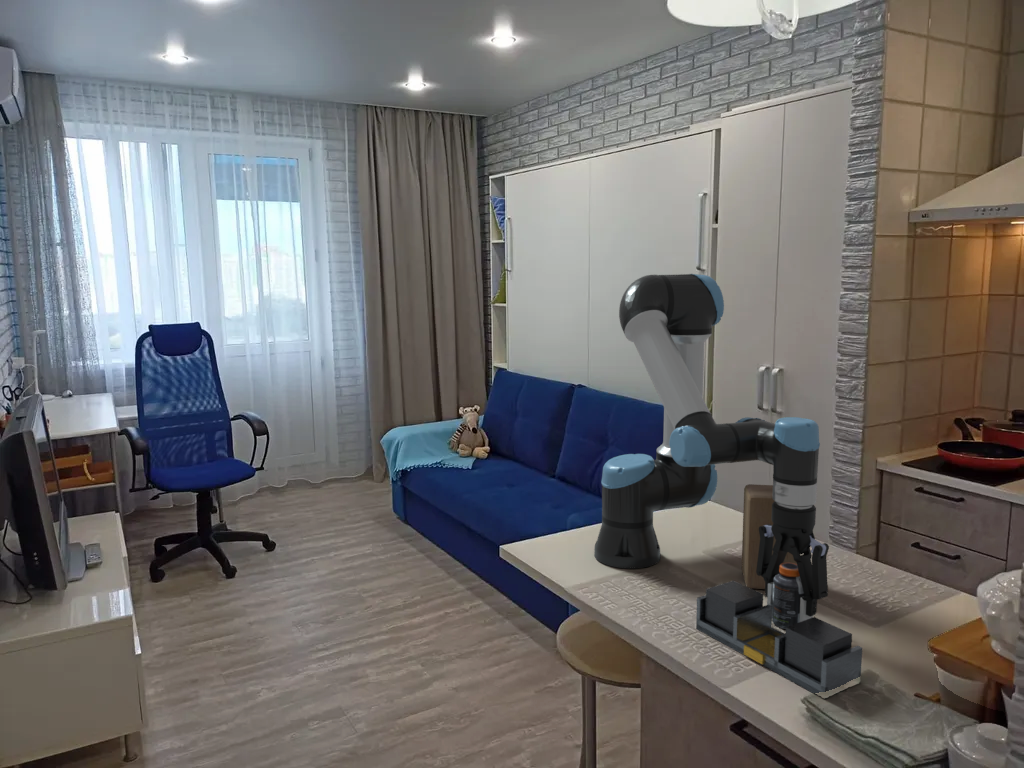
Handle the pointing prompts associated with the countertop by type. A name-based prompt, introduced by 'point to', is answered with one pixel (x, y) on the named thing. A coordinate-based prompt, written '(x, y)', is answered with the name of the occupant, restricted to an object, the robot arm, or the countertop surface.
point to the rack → (779, 639)
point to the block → (756, 531)
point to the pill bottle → (787, 596)
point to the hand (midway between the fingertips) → (789, 622)
